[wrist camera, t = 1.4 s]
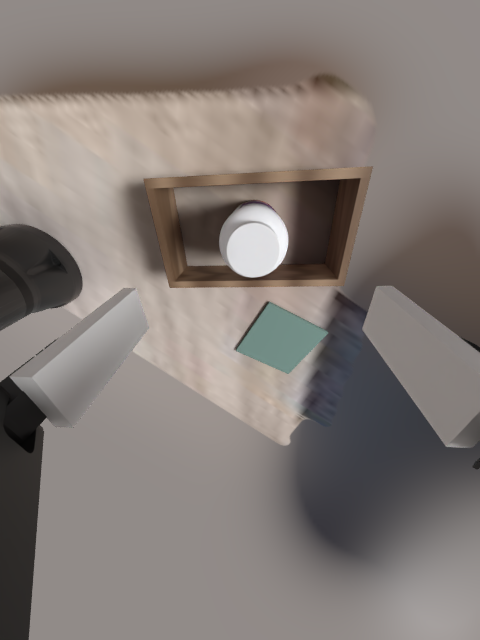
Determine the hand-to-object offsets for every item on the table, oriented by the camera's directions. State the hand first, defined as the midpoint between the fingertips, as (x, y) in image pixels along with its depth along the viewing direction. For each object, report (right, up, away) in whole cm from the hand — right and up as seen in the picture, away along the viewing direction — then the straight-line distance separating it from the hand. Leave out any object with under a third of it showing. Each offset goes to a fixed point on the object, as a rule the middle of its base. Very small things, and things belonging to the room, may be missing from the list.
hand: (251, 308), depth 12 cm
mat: (+8, -5, +33) cm, 35 cm away
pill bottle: (+2, +14, +22) cm, 26 cm away
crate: (+2, +14, +21) cm, 26 cm away
